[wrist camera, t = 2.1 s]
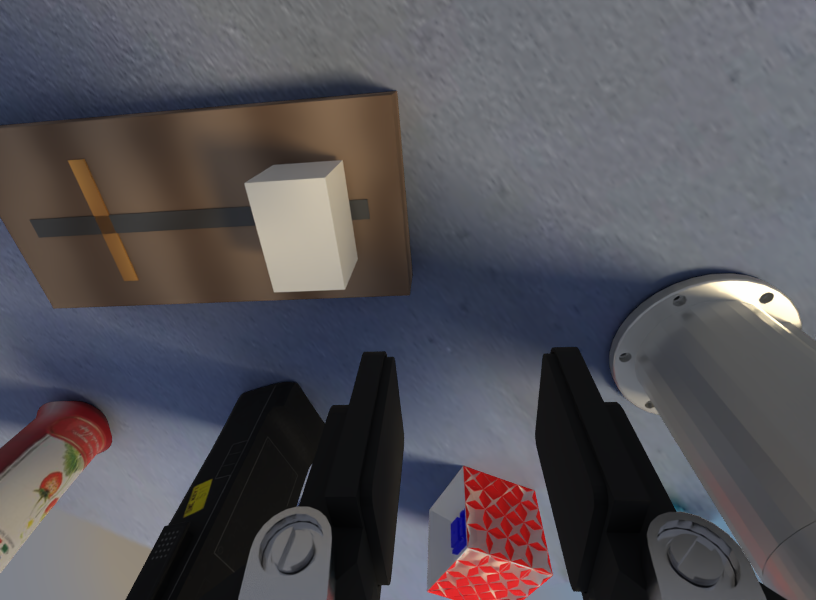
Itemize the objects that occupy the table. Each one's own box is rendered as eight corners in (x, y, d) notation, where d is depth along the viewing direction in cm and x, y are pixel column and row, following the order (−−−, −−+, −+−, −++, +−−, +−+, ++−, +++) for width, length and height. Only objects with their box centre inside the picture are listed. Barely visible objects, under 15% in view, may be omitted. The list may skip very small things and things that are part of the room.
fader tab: (342, 159, 23) (325, 177, 20) (357, 259, 26) (344, 289, 23) (273, 164, 23) (244, 183, 20) (295, 262, 26) (274, 292, 23)
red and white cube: (495, 531, 45) (504, 615, 38) (429, 509, 44) (426, 591, 37) (535, 489, 41) (553, 574, 34) (463, 464, 40) (467, 547, 33)
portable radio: (230, 385, 37) (-68, 843, 15) (288, 368, 36) (49, 847, 14) (275, 444, 40) (84, 885, 19) (330, 430, 39) (191, 892, 17)
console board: (397, 90, 24) (391, 94, 22) (412, 275, 30) (409, 295, 28) (-2, 125, 27) (-51, 132, 24) (84, 288, 33) (52, 309, 30)
